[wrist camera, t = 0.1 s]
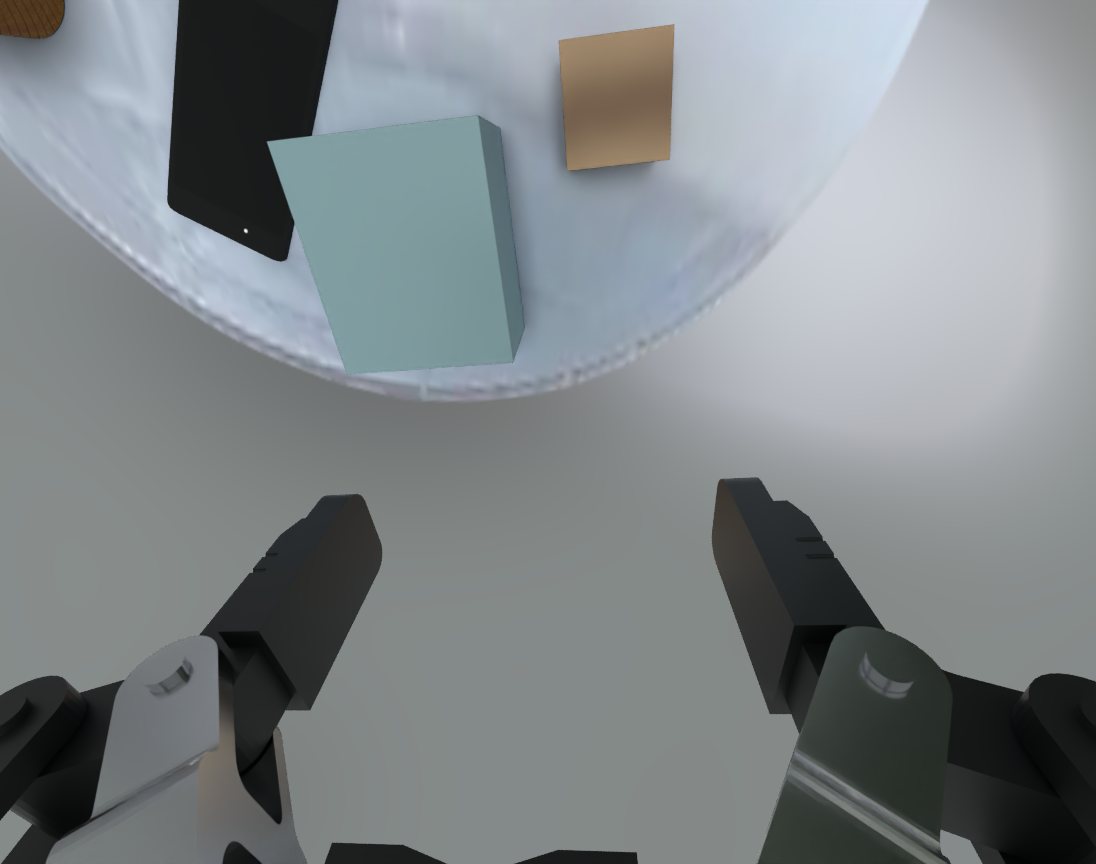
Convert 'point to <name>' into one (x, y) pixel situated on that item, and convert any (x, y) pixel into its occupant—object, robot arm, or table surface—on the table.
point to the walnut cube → (617, 97)
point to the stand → (408, 242)
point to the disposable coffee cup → (30, 17)
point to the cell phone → (243, 111)
